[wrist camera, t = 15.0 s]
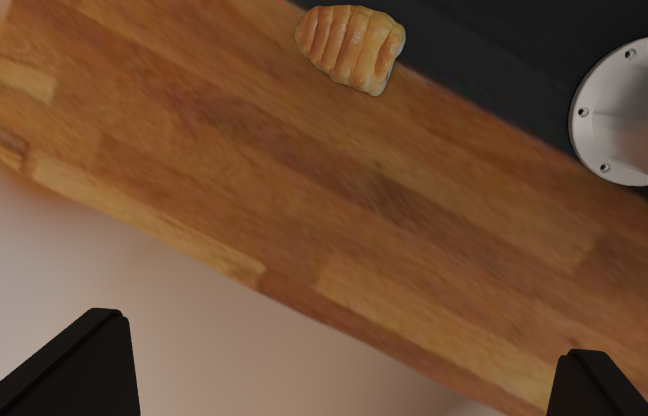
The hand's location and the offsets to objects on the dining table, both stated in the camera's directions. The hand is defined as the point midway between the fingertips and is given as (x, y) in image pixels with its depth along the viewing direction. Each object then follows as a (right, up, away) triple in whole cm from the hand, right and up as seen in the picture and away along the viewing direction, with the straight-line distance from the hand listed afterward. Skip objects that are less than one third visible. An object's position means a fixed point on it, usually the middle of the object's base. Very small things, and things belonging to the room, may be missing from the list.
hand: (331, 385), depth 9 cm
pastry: (+3, +18, +30) cm, 35 cm away
